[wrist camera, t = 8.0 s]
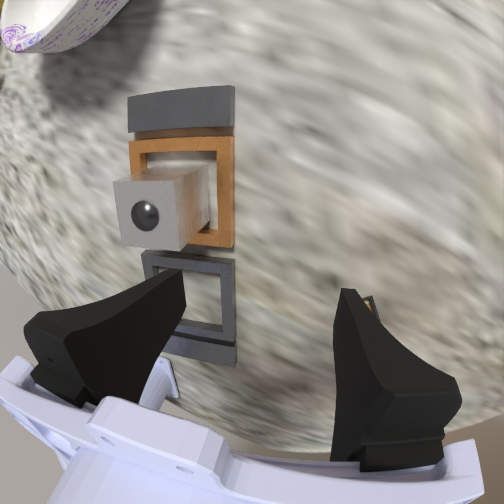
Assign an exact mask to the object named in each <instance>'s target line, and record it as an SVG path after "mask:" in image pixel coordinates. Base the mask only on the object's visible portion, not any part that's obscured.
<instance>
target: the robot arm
mask: <svg viewBox="0 0 504 504" xmlns="http://www.w3.org/2000/svg"><path fill="white" fill-rule="evenodd" d="M185 308H186V299H185V291H184V283H183V275H182V270H178V269H168V270H165V271H163V272H161V273H159V274H157V275H155V276H153V277H151V278H149V279H147V280H145V281H143V282H142V283H140V284H138V285H136V286H134V287H131V288H129V289H127V290H125V291H123V292H121V293H119V294H116V295H114V296H111V297H109V298H106V299H103V300H100V301H97V302H94V303H90V304H86V305H83V306H79V307H74V308H69V309H63V310H54V311H43V312H39V313H37V314H36V315H35V316H34V317H33V318H32V319H31V320H30V321H29V322H28V323H27V324H25V326H24V336H25V339H26V341H27V343H28V345H29V347H30V349H31V350H32V352H33V354H34V356H35V358H36V359H37V361H38V363H39V364H38V365H37V366H36V367H34V366H33V364H32V363H30V362H29V361H27V360H26V359H24V358H23V357H21V356H19V355H17V356H16V357H15V358H14V359H13V360H12V361H11V363H9V364H8V366H7V367H6V368H5V369H4V370H3V371H2V372H1V373H0V402H1V403H2V405H3V406H4V407H5V408H6V410H7V411H8V412H9V413H10V414H11V415H12V416H13V418H14V419H15V420H16V421H17V422H19V423H20V424H21V425H22V426H23V427H25V428H26V429H27V430H29V431H30V432H31V433H32V434H33V435H35V436H36V437H37V438H39V439H40V440H41V441H42V442H44V443H45V444H46V445H48V446H49V447H50V448H52V449H53V450H54V451H55V453H56V455H57V457H58V459H59V462H60V463H61V466H62V468H63V470H64V474H63V475H62V477H61V479H60V481H59V483H58V484H57V486H56V487H55V489H54V491H53V493H52V495H51V496H50V498H49V500H48V502H47V503H46V504H467V503H469V502H471V501H473V500H474V499H476V498H478V497H480V496H481V495H483V493H484V487H483V480H482V474H481V469H480V463H479V459H478V454H477V449H476V445H475V441H474V439H468V440H464V441H459V442H454V443H450V444H448V445H446V446H444V447H442V441H441V440H443V438H444V437H445V433H444V427H445V426H446V425H447V424H448V423H449V422H450V420H451V419H452V418H453V417H454V416H455V415H456V413H457V412H458V410H459V409H460V407H461V404H462V397H461V394H460V391H459V388H458V385H457V382H456V380H455V378H454V377H452V376H450V375H448V374H446V373H444V372H442V371H440V370H438V369H436V368H434V367H433V366H431V365H430V364H428V363H426V362H425V361H423V360H422V359H420V358H419V357H417V356H416V355H415V354H413V353H412V352H411V351H410V350H408V349H407V348H406V347H405V346H403V345H402V344H401V343H400V342H399V341H398V340H397V339H396V338H395V337H394V336H392V335H391V334H390V332H389V331H388V330H387V329H386V328H385V327H384V326H383V325H382V324H381V323H380V321H379V320H378V319H377V318H376V317H375V315H374V314H373V313H372V312H371V310H370V309H369V308H368V306H367V305H366V304H365V302H364V301H363V299H362V298H361V297H360V295H359V294H358V292H357V291H356V290H355V289H348V288H341V293H340V298H339V302H338V307H337V311H336V316H335V320H334V325H333V350H334V361H335V373H336V390H337V394H336V411H335V423H334V433H333V441H332V449H331V456H330V461H309V460H295V459H286V458H277V457H269V456H262V455H255V454H249V453H244V452H238V451H233V450H230V446H229V444H228V443H227V442H226V440H225V439H224V437H223V436H222V435H221V434H220V433H218V432H216V431H215V430H213V429H211V428H210V427H207V426H205V425H202V424H199V423H197V422H194V421H191V420H187V419H184V418H180V417H176V416H173V415H169V414H166V413H163V412H160V411H159V409H160V407H161V405H162V403H163V401H164V399H165V397H166V395H167V396H171V397H174V398H178V397H179V393H178V389H177V386H176V382H175V379H174V375H173V372H172V368H171V364H170V361H169V360H168V359H166V358H162V357H159V355H160V353H161V352H162V350H163V349H164V347H165V345H166V344H167V342H168V340H169V339H170V337H171V336H172V334H173V332H174V331H175V329H176V327H177V326H178V324H179V322H180V320H181V318H182V316H183V313H184V311H185Z"/></svg>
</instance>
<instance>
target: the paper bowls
mask: <svg viewBox="0 0 504 504" xmlns="http://www.w3.org/2000/svg"><path fill="white" fill-rule="evenodd" d="M128 1H129V0H5V1H4V4H3V8H2V13H1V20H0V32H1V38H2V40H3V43H4V45H5V46H6V47H7V48H8V49H9V50H11V51H12V52H15V53H57V52H64V51H65V50H69V49H72V48H74V47H77V46H78V45H80V44H82V43H83V42H85V41H87V40H88V39H89V38H91V37H92V36H94V35H95V34H96V33H97V32H98V31H100V30H101V29H102V28H103V27H104V26H105V25H107V24H108V22H109V21H110V20H111V19H112V18H113V17H114V16H115V15H116V14H117V13H118V12H119V11H120V10H121V9H122V8H123V7H124V6H125V5H126V3H127V2H128Z"/></svg>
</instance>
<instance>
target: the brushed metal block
mask: <svg viewBox="0 0 504 504" xmlns="http://www.w3.org/2000/svg"><path fill="white" fill-rule="evenodd" d="M113 185H114V193H115V201H116V208H117V215H118V221H119V228H120V233H121V239H122V245H123V246H131V247H141V248H151V249H161V250H171V251H181V250H182V249H183V248H184V247H185V245H186V244H187V243H188V242H189V241H190V240H191V239H192V238H193V237H194V236H195V235H196V234H197V233H198V232H199V231H200V230H201V229H202V228H203V227H204V226H205V225H206V224H207V223H208V222H209V221H210V203H209V179H208V164H196V165H157V166H154V167H151V168H148V169H146V170H143V171H140V172H138V173H135V174H132V175H130V176H127V177H124V178H122V179H119V180H117V181H114V182H113Z"/></svg>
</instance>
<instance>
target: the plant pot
mask: <svg viewBox="0 0 504 504" xmlns="http://www.w3.org/2000/svg"><path fill="white" fill-rule="evenodd" d="M4 1H5V0H0V14H1V13H2V8H3V4H4Z"/></svg>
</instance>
